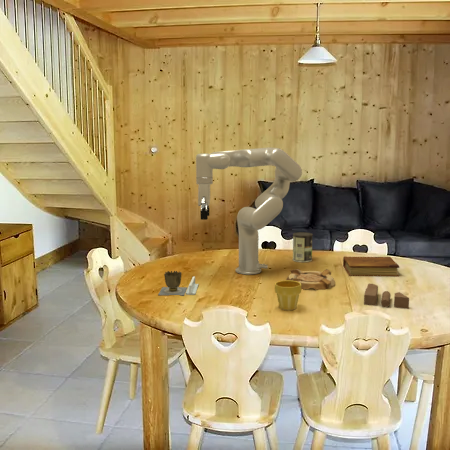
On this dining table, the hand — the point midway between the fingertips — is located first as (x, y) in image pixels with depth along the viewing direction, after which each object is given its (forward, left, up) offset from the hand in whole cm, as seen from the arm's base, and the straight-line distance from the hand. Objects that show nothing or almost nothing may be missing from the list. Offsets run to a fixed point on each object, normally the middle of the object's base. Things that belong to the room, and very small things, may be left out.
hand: (205, 217), depth 255 cm
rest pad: (+12, +24, -28) cm, 39 cm away
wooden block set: (-77, +32, -29) cm, 88 cm away
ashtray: (-48, +8, -29) cm, 57 cm away
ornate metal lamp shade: (+12, +24, -28) cm, 39 cm away
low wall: (+4, +21, -28) cm, 35 cm away
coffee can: (-48, -34, -29) cm, 65 cm away
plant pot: (-36, +43, -29) cm, 63 cm away
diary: (-79, -13, -29) cm, 85 cm away
